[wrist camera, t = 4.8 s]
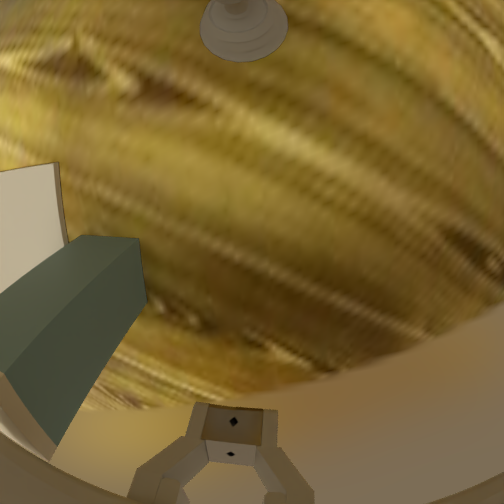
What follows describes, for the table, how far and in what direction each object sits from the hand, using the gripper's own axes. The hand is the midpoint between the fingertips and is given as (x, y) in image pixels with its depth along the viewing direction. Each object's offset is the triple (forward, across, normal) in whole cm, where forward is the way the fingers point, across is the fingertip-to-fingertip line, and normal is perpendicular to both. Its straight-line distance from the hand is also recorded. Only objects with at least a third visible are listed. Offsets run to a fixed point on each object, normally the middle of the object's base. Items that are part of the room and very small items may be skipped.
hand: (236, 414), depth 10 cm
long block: (+10, +10, 0) cm, 15 cm away
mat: (+10, +24, 0) cm, 26 cm away
